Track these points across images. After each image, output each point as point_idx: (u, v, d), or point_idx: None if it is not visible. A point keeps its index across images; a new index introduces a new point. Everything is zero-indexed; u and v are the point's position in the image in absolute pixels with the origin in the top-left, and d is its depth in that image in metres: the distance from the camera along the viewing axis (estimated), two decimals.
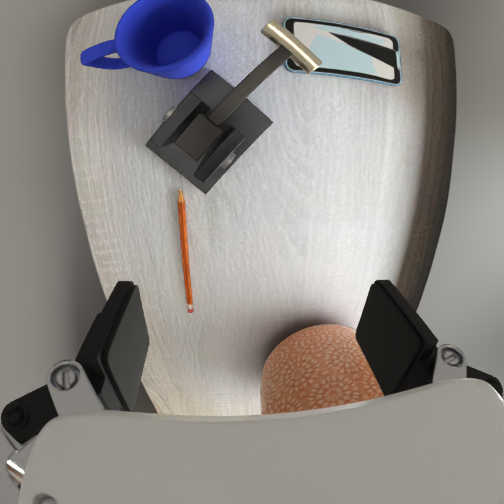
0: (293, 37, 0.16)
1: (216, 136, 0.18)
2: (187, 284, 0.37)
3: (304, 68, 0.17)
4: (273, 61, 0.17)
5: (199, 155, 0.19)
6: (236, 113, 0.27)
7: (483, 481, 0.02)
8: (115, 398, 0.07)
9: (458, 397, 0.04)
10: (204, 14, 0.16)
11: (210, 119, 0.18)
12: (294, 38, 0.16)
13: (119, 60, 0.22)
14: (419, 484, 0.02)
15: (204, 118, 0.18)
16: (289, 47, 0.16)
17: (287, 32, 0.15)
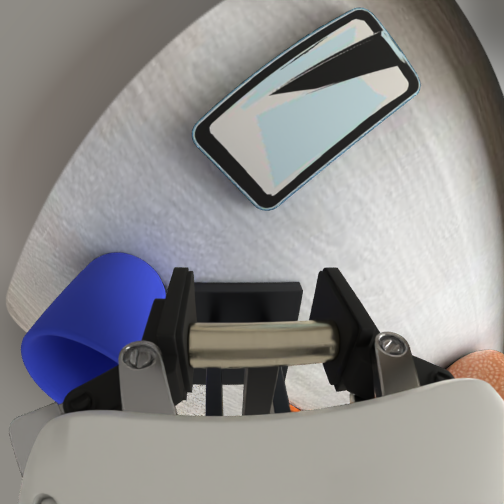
0: (254, 350, 0.08)
1: None
2: None
3: None
4: (260, 392, 0.10)
5: None
6: (253, 313, 0.21)
7: (483, 481, 0.02)
8: (181, 377, 0.08)
9: (458, 397, 0.04)
10: None
11: None
12: (257, 350, 0.08)
13: None
14: (419, 484, 0.02)
15: None
16: (264, 367, 0.09)
17: (235, 351, 0.08)
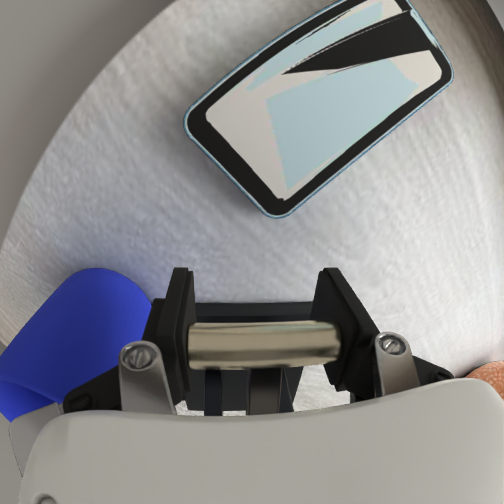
0: (254, 342, 0.08)
1: None
2: None
3: None
4: (264, 404, 0.09)
5: None
6: None
7: (483, 481, 0.02)
8: (180, 377, 0.08)
9: (458, 397, 0.04)
10: None
11: None
12: (258, 342, 0.08)
13: None
14: (419, 484, 0.02)
15: None
16: (266, 366, 0.08)
17: (235, 344, 0.08)
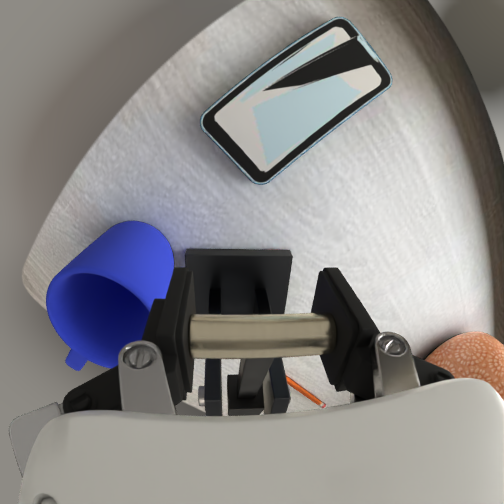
0: (252, 349, 0.09)
1: (261, 410, 0.16)
2: (309, 397, 0.35)
3: None
4: (256, 369, 0.11)
5: (258, 414, 0.17)
6: (249, 276, 0.24)
7: (483, 481, 0.02)
8: (181, 377, 0.08)
9: (458, 397, 0.04)
10: None
11: (242, 398, 0.15)
12: (256, 348, 0.09)
13: None
14: (419, 484, 0.02)
15: (237, 409, 0.15)
16: None
17: (234, 350, 0.09)
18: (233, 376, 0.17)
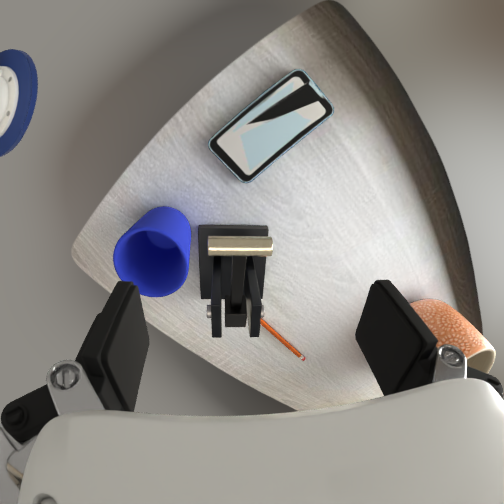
0: (235, 248, 0.22)
1: (245, 317, 0.28)
2: (290, 348, 0.47)
3: None
4: (238, 268, 0.24)
5: (244, 325, 0.30)
6: None
7: (483, 481, 0.02)
8: (115, 398, 0.07)
9: (458, 397, 0.04)
10: None
11: (233, 308, 0.28)
12: (236, 248, 0.22)
13: None
14: (419, 484, 0.02)
15: (230, 314, 0.28)
16: (239, 256, 0.22)
17: (227, 248, 0.21)
18: (228, 296, 0.29)
